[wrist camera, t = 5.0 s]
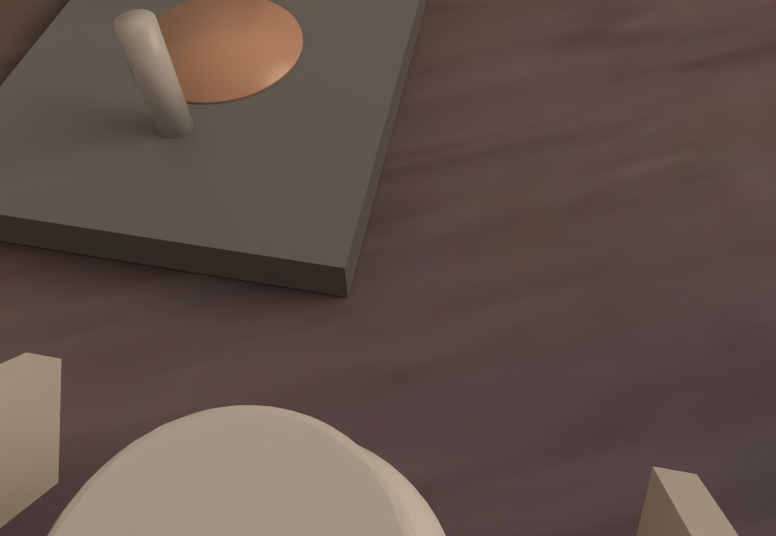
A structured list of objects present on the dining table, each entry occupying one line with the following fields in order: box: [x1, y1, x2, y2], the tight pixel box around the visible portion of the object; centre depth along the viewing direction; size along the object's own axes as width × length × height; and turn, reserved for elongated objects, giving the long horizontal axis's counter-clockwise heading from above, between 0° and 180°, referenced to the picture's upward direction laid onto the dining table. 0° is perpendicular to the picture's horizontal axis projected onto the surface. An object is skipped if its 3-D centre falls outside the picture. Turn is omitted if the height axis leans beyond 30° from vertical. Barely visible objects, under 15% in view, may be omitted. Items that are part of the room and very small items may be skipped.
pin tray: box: [0, 0, 427, 297], centre depth 23 cm, size 14×18×6 cm
